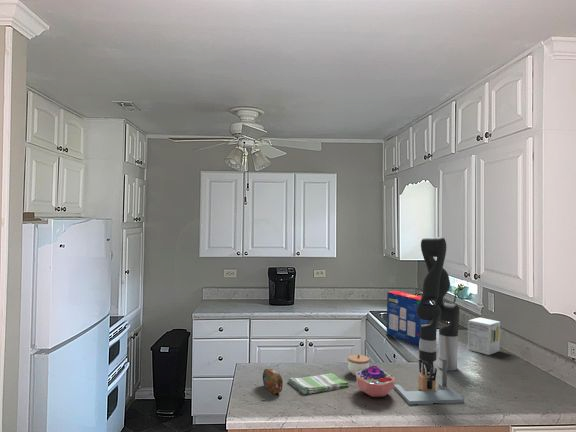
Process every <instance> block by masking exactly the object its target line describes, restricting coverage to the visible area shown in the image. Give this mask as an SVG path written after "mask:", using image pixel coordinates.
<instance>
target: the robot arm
mask: <svg viewBox="0 0 576 432" xmlns="http://www.w3.org/2000/svg"><path fill="white" fill-rule="evenodd" d="M420 250H421V254H422V257H423V260H424V263H425V266H426V268H427V269H426V270H427V273H426V276H425V277H424V279H423V284H422V293H421V296H420V297H421V300H420V302H419V305H418V307H417V310H416V314H417V317H418V318H419V319H423V320H429V321H432V322H431V323H429V324H426V325H422V326H421V327H420V342H419V346H418V358H419V359H418V370H419V373H420V374H426V375H427V389H432V382H433V381H435V380H437V373H438V369H437V368H436V367H434V362H436V361H437V366H438V368H439V369H442V365H443V361H441V360H440V359H439V357H441V358H443V359H447V371H456V370H458V347H459V346H458V344H459V343H458V341H459V337H458V336H459V324H460V307H459V305H458V304H455V303H450V302H444V297H445V296H446V295H447V293H448V292H449V290H450V289H451V281H450V277H449V273H448V272H447V270H446V269H445V268H444V264H445V259H446V255H447V241H446V239H445V238H444V237H442V236H441V237H439V236H438V237H428V236H427V237H423V238H422V239H421V240H420ZM434 257H435V258H436V259H435V258H434ZM428 301H429V302H431V301H434V304H430V303H429V304H426V303H427V302H428ZM440 321H445V322H449V323H450V324H449V325H446V326H441V327H439V328H438V325H439V322H440ZM437 330H438V332H437ZM437 333H438V345H437ZM437 347H438V352H437ZM437 353H438V355H437ZM433 376H434V377H433Z"/></svg>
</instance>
